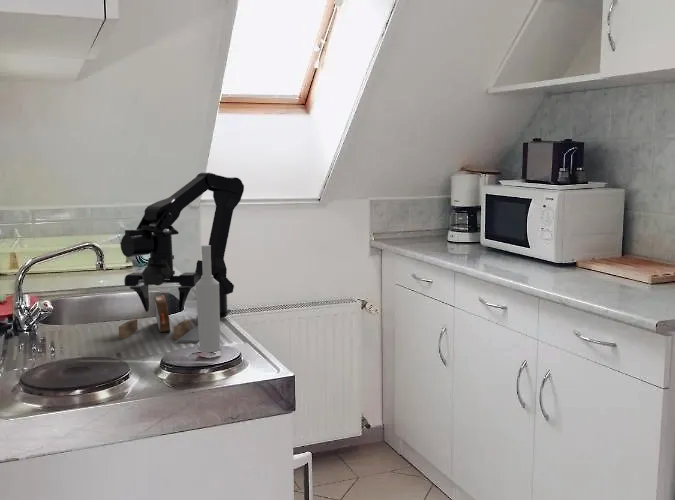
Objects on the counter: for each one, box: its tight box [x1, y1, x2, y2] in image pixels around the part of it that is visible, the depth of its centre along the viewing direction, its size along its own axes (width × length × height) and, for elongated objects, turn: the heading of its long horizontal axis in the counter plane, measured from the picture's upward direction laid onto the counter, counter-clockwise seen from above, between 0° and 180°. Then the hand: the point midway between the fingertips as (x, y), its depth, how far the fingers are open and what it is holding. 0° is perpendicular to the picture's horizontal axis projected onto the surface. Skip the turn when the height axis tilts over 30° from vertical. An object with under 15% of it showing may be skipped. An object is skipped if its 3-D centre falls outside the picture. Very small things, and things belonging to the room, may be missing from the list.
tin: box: [153, 294, 171, 333], centre depth 184 cm, size 15×3×8 cm, turn 18°
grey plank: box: [176, 324, 199, 344], centre depth 177 cm, size 16×5×1 cm, turn 174°
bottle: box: [195, 244, 222, 352], centre depth 156 cm, size 5×5×25 cm
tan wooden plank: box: [118, 318, 191, 340], centre depth 178 cm, size 9×15×3 cm, turn 84°
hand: (164, 311), depth 184 cm, fingers open, 9 cm apart
